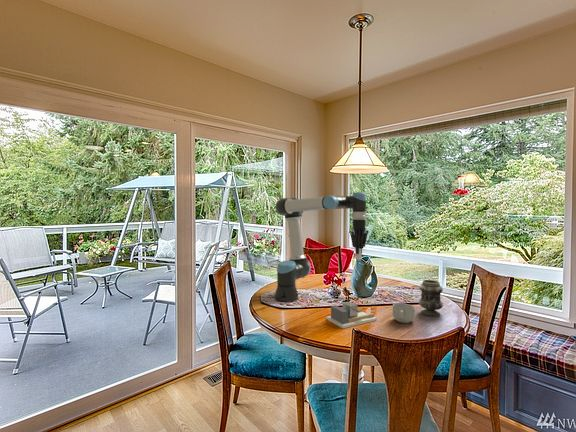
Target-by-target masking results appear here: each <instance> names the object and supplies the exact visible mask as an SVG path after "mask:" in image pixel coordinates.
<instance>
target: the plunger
mask: <svg viewBox="0 0 576 432" xmlns="http://www.w3.org/2000/svg"><path fill="white" fill-rule="evenodd" d="M342 309H344V310H346V311H348V319H350V318H354V317H358V312H359V313H360V311H358V309H359V307H358V304H357V303H354V302H352V301H346V302H342Z"/></svg>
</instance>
